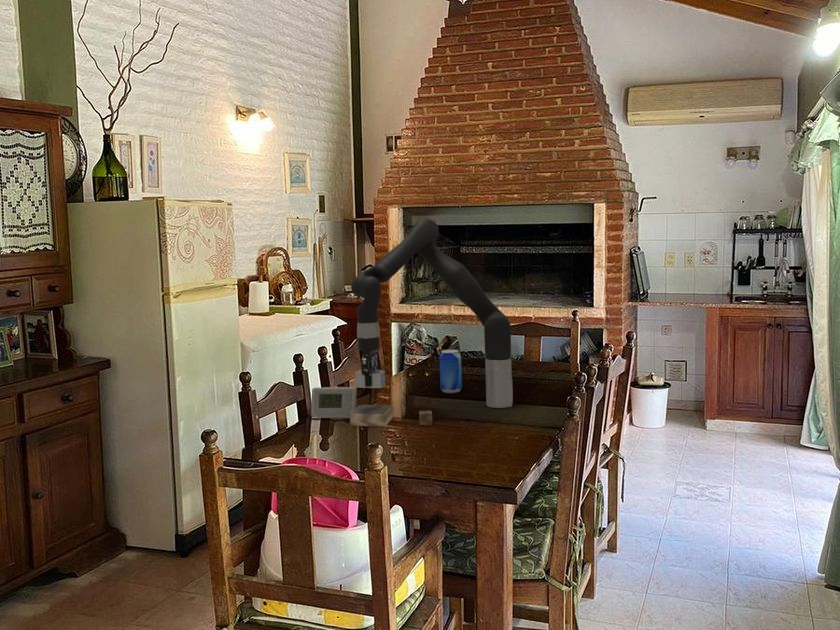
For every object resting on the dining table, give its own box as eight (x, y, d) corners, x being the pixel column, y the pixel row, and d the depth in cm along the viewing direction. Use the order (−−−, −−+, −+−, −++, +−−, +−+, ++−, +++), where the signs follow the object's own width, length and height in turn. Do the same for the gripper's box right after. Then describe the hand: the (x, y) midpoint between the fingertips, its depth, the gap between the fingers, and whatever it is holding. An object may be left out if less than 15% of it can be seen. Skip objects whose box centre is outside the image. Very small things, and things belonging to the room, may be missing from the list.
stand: (393, 416, 269) (393, 405, 269) (385, 426, 258) (384, 413, 257) (360, 416, 272) (359, 404, 271) (350, 425, 260) (349, 413, 260)
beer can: (437, 392, 303) (436, 352, 301) (445, 388, 311) (443, 348, 309) (457, 394, 300) (456, 353, 298) (464, 389, 308) (463, 349, 306)
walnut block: (431, 422, 261) (431, 410, 261) (432, 425, 257) (432, 413, 257) (419, 422, 261) (419, 411, 260) (420, 425, 257) (419, 414, 257)
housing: (360, 384, 267) (359, 368, 266) (385, 384, 265) (384, 368, 264) (355, 387, 262) (354, 371, 262) (380, 388, 260) (380, 371, 259)
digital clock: (308, 419, 270) (306, 390, 269) (320, 413, 279) (318, 384, 277) (351, 422, 265) (349, 391, 264) (361, 415, 273) (360, 386, 272)
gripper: (363, 332, 269) (365, 380, 271) (351, 338, 255) (354, 389, 257) (384, 332, 267) (386, 380, 270) (373, 338, 254) (376, 389, 256)
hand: (370, 384), depth 263 cm, fingers closed on housing, 5 cm apart
